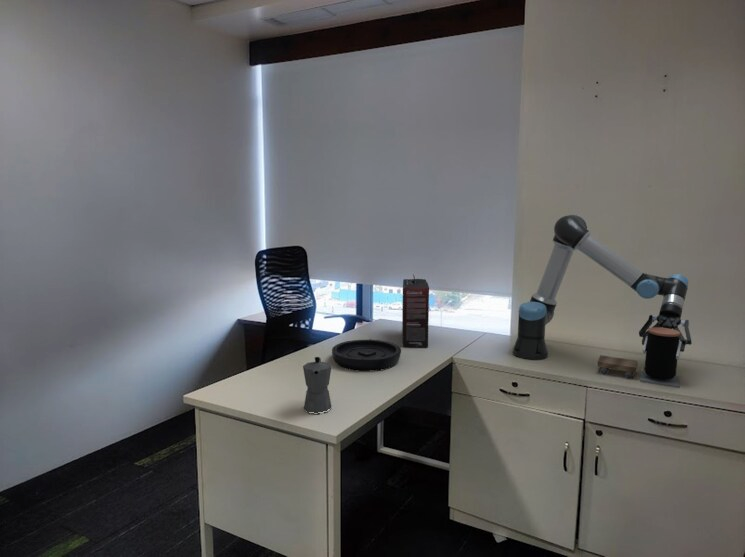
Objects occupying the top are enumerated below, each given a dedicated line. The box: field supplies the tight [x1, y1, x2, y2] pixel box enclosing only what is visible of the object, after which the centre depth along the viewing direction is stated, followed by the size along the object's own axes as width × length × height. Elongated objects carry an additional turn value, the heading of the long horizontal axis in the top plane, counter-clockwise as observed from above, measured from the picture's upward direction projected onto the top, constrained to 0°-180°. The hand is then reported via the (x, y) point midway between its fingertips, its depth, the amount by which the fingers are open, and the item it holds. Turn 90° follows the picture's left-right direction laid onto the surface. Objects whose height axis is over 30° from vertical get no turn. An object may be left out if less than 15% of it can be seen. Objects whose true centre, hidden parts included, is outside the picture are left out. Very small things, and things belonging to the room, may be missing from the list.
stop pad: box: [639, 370, 680, 389], centre depth 193 cm, size 13×12×1 cm
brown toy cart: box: [597, 354, 638, 380], centre depth 200 cm, size 14×10×5 cm
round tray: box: [331, 339, 402, 372], centre depth 214 cm, size 30×6×30 cm
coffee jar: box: [644, 326, 681, 380], centre depth 191 cm, size 11×11×18 cm
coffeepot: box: [302, 356, 333, 413], centre depth 164 cm, size 15×9×18 cm, turn 3°
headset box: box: [401, 274, 430, 348], centre depth 243 cm, size 25×12×33 cm, turn 178°
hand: (660, 354), depth 189 cm, fingers closed on coffee jar, 11 cm apart
